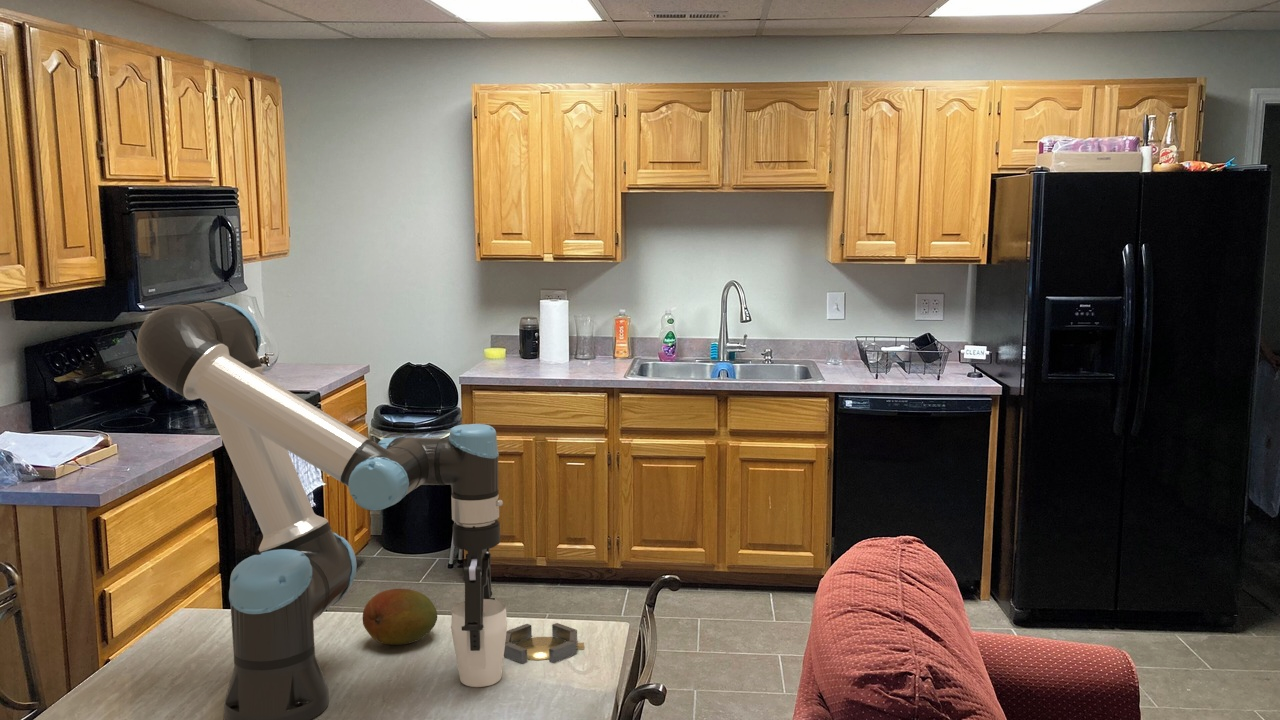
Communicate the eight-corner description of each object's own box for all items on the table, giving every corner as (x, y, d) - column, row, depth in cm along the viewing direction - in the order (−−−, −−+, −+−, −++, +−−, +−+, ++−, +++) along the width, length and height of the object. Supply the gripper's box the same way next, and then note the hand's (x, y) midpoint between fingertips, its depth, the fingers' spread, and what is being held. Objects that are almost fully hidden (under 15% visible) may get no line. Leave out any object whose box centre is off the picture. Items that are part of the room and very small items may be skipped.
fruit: (353, 647, 179) (350, 593, 178) (402, 624, 190) (400, 572, 189) (402, 660, 173) (400, 604, 172) (450, 635, 184) (448, 582, 183)
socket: (492, 664, 171) (492, 652, 171) (499, 635, 184) (499, 624, 183) (583, 662, 171) (583, 649, 171) (584, 633, 184) (584, 622, 184)
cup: (497, 693, 160) (495, 619, 159) (444, 688, 162) (441, 616, 160) (516, 669, 169) (514, 600, 167) (465, 665, 171) (462, 597, 169)
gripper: (492, 539, 152) (496, 683, 154) (505, 503, 173) (509, 630, 176) (442, 540, 151) (447, 684, 154) (461, 504, 173) (465, 631, 175)
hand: (480, 655), depth 165 cm, fingers closed on cup, 9 cm apart
